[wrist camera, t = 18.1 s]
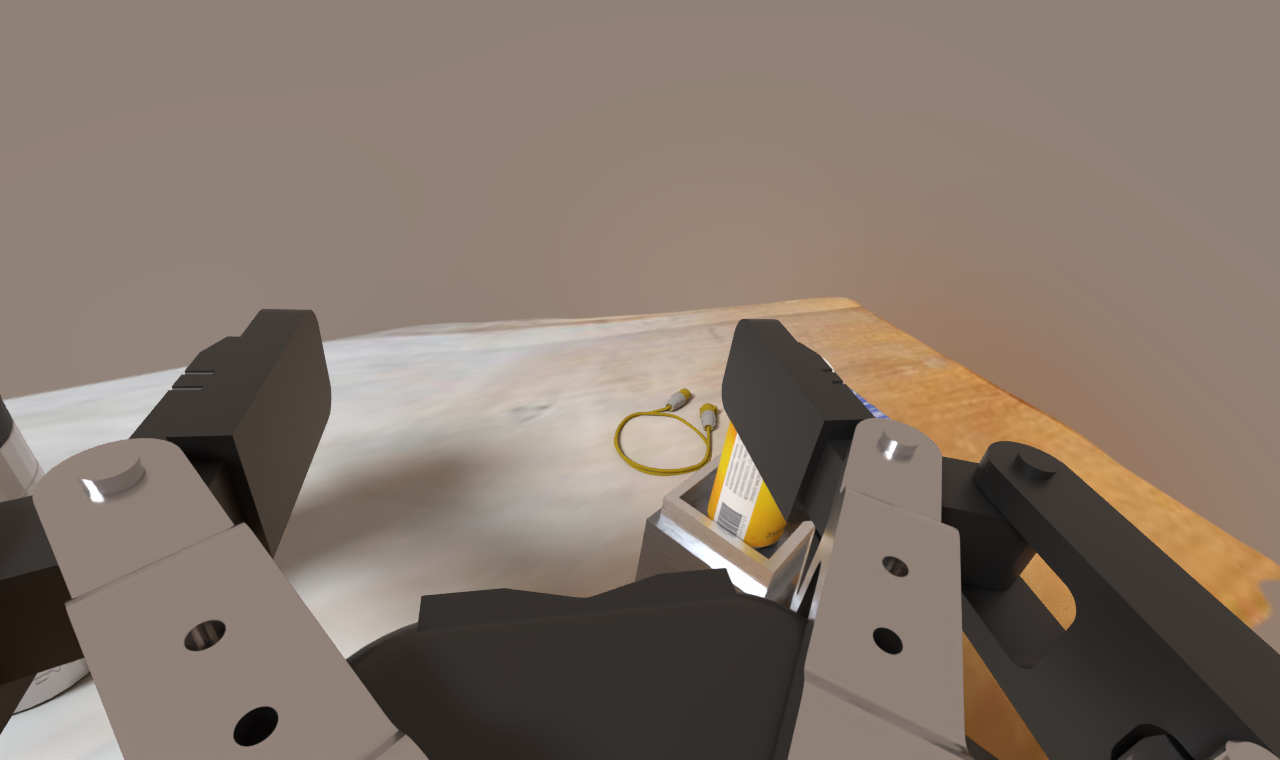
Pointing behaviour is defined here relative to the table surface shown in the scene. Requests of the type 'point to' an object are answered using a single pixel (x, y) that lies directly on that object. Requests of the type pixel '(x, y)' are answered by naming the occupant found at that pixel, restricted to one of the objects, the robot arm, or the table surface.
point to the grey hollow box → (719, 544)
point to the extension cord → (675, 402)
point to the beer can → (744, 497)
